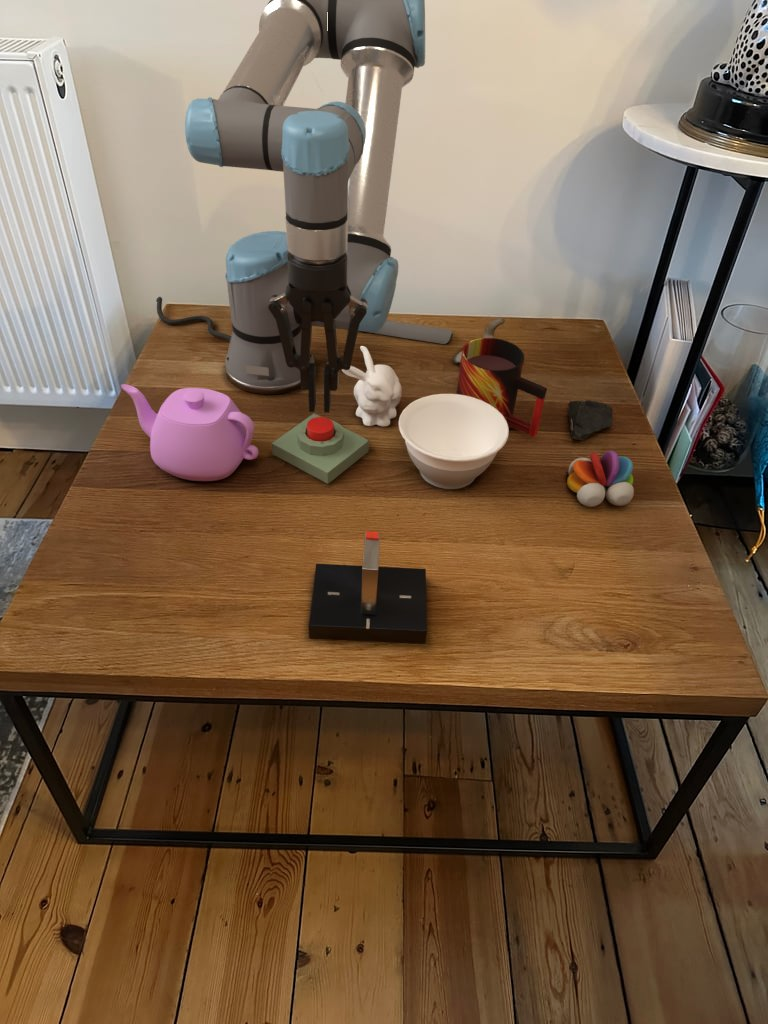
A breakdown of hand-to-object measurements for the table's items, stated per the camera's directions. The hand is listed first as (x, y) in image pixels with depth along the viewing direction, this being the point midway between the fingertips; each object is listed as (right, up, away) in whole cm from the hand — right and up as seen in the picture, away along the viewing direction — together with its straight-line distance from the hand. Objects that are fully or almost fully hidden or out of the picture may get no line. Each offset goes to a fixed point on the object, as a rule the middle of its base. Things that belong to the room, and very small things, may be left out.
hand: (320, 406), depth 111 cm
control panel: (+7, -27, -16) cm, 33 cm away
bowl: (+19, -9, +4) cm, 22 cm away
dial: (+8, -26, -18) cm, 32 cm away
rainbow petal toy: (+41, -13, +2) cm, 43 cm away
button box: (0, -6, +6) cm, 9 cm away
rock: (+43, -2, +14) cm, 45 cm away
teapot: (-19, -8, +4) cm, 21 cm away
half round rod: (+12, +19, +34) cm, 40 cm away
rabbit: (+8, 0, +14) cm, 16 cm away
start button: (0, -4, +3) cm, 5 cm away
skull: (+28, +11, +27) cm, 41 cm away
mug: (+28, 0, +14) cm, 31 cm away
